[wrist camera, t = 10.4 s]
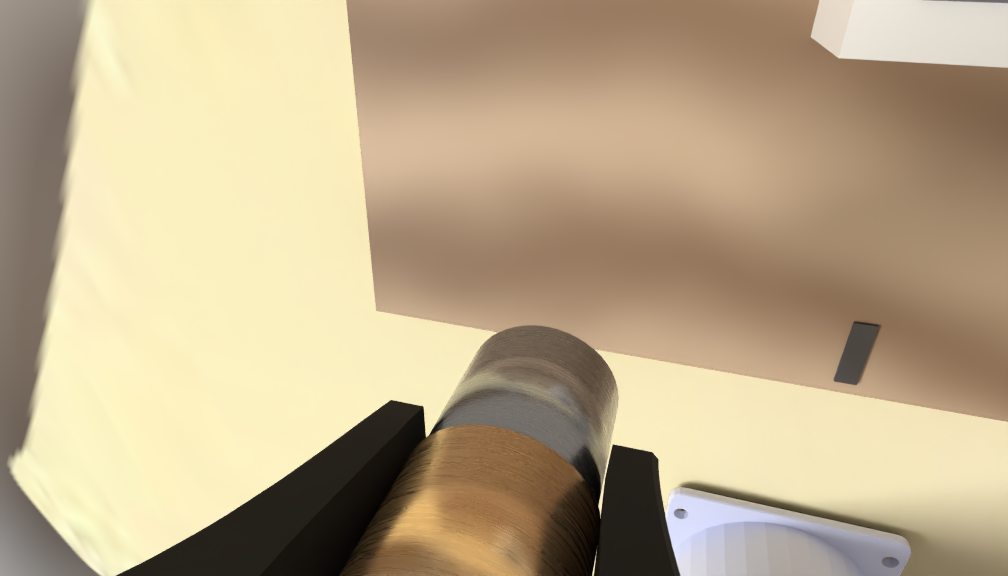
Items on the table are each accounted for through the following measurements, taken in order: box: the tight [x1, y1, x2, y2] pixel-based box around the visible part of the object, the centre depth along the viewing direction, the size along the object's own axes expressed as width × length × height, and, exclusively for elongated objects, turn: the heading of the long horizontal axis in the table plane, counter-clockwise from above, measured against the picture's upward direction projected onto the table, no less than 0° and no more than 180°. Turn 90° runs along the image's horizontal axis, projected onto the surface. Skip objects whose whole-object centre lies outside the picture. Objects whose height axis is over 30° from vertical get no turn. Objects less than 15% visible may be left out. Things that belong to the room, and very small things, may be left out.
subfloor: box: [346, 0, 1008, 422], centre depth 15 cm, size 18×22×1 cm
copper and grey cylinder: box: [339, 325, 618, 576], centre depth 9 cm, size 3×3×7 cm
